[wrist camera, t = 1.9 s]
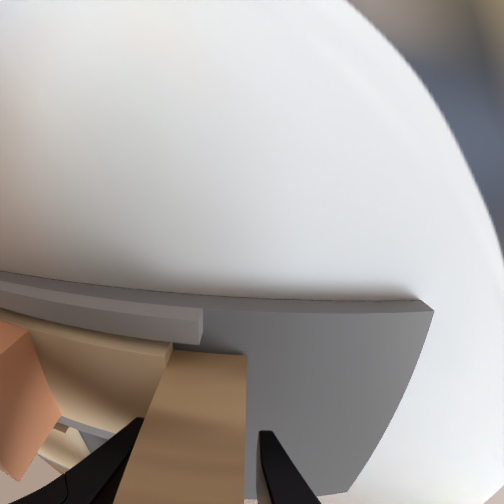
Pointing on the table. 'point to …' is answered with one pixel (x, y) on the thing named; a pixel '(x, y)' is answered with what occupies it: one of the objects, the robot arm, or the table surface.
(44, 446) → the pair of tan slabs
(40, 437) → the cube
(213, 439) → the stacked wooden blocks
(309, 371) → the lane bed
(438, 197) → the table surface
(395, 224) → the table surface
